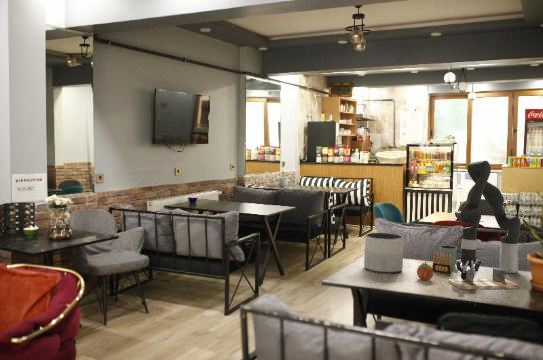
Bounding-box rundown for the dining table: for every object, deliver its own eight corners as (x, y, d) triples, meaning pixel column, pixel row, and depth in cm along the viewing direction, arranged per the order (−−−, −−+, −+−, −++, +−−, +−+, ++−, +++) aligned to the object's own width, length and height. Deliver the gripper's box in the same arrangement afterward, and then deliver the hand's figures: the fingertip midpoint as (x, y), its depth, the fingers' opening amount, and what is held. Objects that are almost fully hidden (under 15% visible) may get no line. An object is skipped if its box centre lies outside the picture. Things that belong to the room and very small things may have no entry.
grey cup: (457, 265, 321) (457, 246, 320) (455, 268, 311) (456, 249, 311) (439, 263, 325) (440, 244, 324) (437, 266, 316) (438, 247, 315)
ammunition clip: (451, 273, 300) (452, 253, 299) (450, 274, 298) (451, 253, 297) (432, 270, 306) (433, 250, 305) (431, 271, 304) (432, 251, 303)
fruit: (434, 278, 287) (434, 261, 287) (431, 283, 279) (432, 264, 278) (418, 277, 291) (418, 259, 290) (415, 281, 282) (416, 262, 281)
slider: (468, 279, 280) (468, 268, 280) (476, 283, 272) (476, 272, 272) (461, 279, 279) (461, 268, 279) (469, 283, 271) (469, 272, 271)
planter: (409, 269, 307) (410, 236, 306) (390, 276, 291) (392, 240, 289) (376, 263, 322) (377, 231, 320) (356, 269, 305) (357, 235, 304)
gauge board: (503, 280, 286) (504, 266, 285) (518, 288, 272) (519, 273, 271) (448, 282, 281) (448, 267, 281) (461, 289, 267) (461, 274, 267)
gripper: (477, 245, 281) (476, 277, 282) (452, 246, 279) (451, 277, 280) (485, 248, 273) (483, 280, 275) (459, 249, 271) (458, 281, 273)
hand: (467, 279), depth 277 cm, fingers closed on slider, 4 cm apart
